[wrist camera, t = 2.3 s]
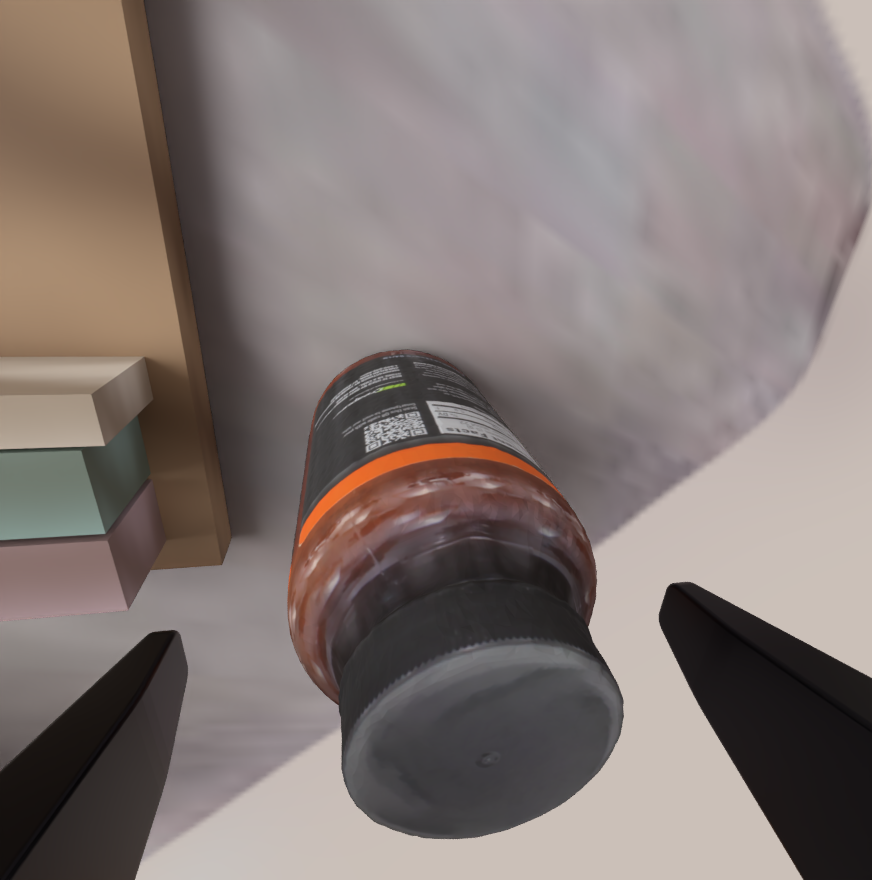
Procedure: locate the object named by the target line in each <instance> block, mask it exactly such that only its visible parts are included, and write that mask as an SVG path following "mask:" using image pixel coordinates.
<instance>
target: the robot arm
mask: <svg viewBox="0 0 872 880" xmlns="http://www.w3.org/2000/svg"><path fill="white" fill-rule="evenodd" d="M659 623H660V626H661V629H662V631H663V633H664V635H665V637H666V639H667V641H668V643H669V645H670V648H671V649H672V652H673V654H674V656H675V658H676V660H677V662H678V664H679V666H680V668H681V670H682V672H683V674H684V676H685V678H686V681H687V682H688V685H689V687H690V689H691V691H692V692H693V695H694V697H695V698H696V700H697V702H698V704H699V706H700V707H701V709H702V711H703V713H704V715H705V716H706V718H707V719H708V721H709V723H710V725H711V726H712V728H713V730H714V731H715V733H716V735H717V736H718V738H719V740H720V741H721V743H722V745H723V746H724V748H725V750H726V751H727V753H728V755H729V756H730V758H731V760H732V761H733V763H734V765H735V766H736V768H737V770H738V771H739V773H740V775H741V776H742V778H743V780H744V781H745V783H746V785H747V786H748V788H749V790H750V791H751V793H752V795H753V796H754V798H755V800H756V801H757V803H758V805H759V806H760V808H761V810H762V811H763V813H764V815H765V816H766V818H767V820H768V821H769V823H770V825H771V826H772V828H773V830H774V832H775V833H776V835H777V837H778V838H779V840H780V842H781V843H782V845H783V847H784V848H785V850H786V851H787V853H788V855H789V856H790V858H791V860H792V861H793V863H794V865H795V867H796V868H797V870H798V872H799V873H800V875H801V876H802V878H803V880H872V678H870V677H869V676H867V675H865V674H863V673H861V672H859V671H858V670H856V669H854V668H852V667H850V666H848V665H846V664H844V663H842V662H840V661H839V660H837V659H835V658H833V657H831V656H829V655H827V654H825V653H824V652H822V651H820V650H818V649H816V648H814V647H812V646H811V645H809V644H807V643H805V642H803V641H801V640H799V639H797V638H795V637H793V636H792V635H790V634H788V633H786V632H784V631H782V630H780V629H779V628H776V627H774V626H773V625H771V624H769V623H767V622H765V621H763V620H762V619H760V618H758V617H756V616H754V615H752V614H750V613H748V612H747V611H744V610H743V609H741V608H739V607H737V606H735V605H733V604H731V603H730V602H728V601H726V600H724V599H722V598H720V597H718V596H716V595H715V594H713V593H711V592H709V591H707V590H705V589H703V588H701V587H699V586H698V585H696V584H694V583H691V582H680V583H672V584H670V585H669V586H668V587H667V589H666V593H665V596H664V599H663V603H662V606H661V609H660V612H659ZM187 676H188V665H187V661H186V657H185V652H184V648H183V644H182V640H181V636H180V634H179V632H178V631H175V630H169V631H158V632H152V633H150V634H148V635H147V636H146V637H145V638H144V639H142V640H141V641H140V642H139V643H138V644H137V645H136V646H135V647H134V648H133V649H132V650H131V651H129V652H128V653H127V654H126V655H125V656H124V657H123V658H122V659H121V660H120V661H119V662H118V663H117V664H115V665H114V666H113V667H112V668H111V669H110V670H109V671H108V672H107V673H106V674H105V675H104V676H102V677H101V678H100V679H99V680H98V681H97V682H96V683H95V684H94V685H93V686H92V687H91V688H90V689H88V690H87V691H86V692H85V693H84V694H83V695H82V696H81V697H80V698H79V699H78V700H77V701H75V702H74V703H73V704H72V705H71V706H70V707H69V708H68V709H67V710H66V711H65V712H64V713H63V714H61V715H60V716H59V717H58V718H57V719H56V720H55V721H54V722H53V723H52V724H51V725H50V726H48V727H47V728H46V729H45V730H44V731H43V732H42V733H41V734H40V735H39V736H38V737H37V738H36V739H34V740H33V741H32V742H31V743H30V744H29V745H28V746H27V747H26V748H25V749H24V750H23V751H22V752H20V753H19V754H18V755H17V756H16V757H15V758H14V759H13V760H12V761H11V762H10V763H9V764H7V765H6V766H5V767H4V768H3V769H2V770H1V771H0V880H135V878H136V874H137V871H138V868H139V865H140V862H141V859H142V855H143V852H144V849H145V846H146V843H147V840H148V836H149V833H150V830H151V827H152V824H153V821H154V817H155V814H156V811H157V808H158V805H159V802H160V798H161V795H162V792H163V788H164V785H165V781H166V778H167V774H168V769H169V765H170V760H171V755H172V750H173V746H174V741H175V736H176V731H177V726H178V721H179V716H180V712H181V707H182V702H183V697H184V692H185V687H186V682H187Z"/></svg>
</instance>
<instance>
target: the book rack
mask: <svg viewBox="0 0 872 880" xmlns="http://www.w3.org/2000/svg"><path fill="white" fill-rule="evenodd" d="M231 538H232V537H231V531H230V525H229V518H228V512H227V506H226V500H225V494H224V488H223V482H222V476H221V470H220V463H219V457H218V451H217V445H216V439H215V433H214V427H213V421H212V415H211V408H210V402H209V396H208V390H207V384H206V378H205V372H204V366H203V360H202V354H201V347H200V341H199V335H198V329H197V323H196V317H195V311H194V305H193V299H192V292H191V286H190V280H189V274H188V268H187V262H186V256H185V250H184V244H183V238H182V231H181V225H180V219H179V213H178V207H177V201H176V195H175V189H174V183H173V176H172V170H171V164H170V158H169V152H168V146H167V140H166V134H165V128H164V121H163V115H162V109H161V103H160V97H159V91H158V85H157V79H156V73H155V67H154V60H153V54H152V48H151V42H150V36H149V30H148V24H147V18H146V12H145V5H144V0H0V621H10V620H21V619H33V618H45V617H57V616H69V615H80V614H92V613H104V612H116V611H128V610H129V608H130V606H131V604H132V603H133V601H134V599H135V597H136V595H137V593H138V592H139V590H140V588H141V586H142V584H143V582H144V581H145V579H146V577H147V575H148V573H149V571H150V570H158V569H172V568H186V567H199V566H213V565H222V564H223V561H224V558H225V555H226V552H227V549H228V547H229V544H230V541H231Z"/></svg>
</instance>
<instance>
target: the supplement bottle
mask: <svg viewBox="0 0 872 880" xmlns="http://www.w3.org/2000/svg"><path fill="white" fill-rule="evenodd" d="M596 575H597V571H596V565H595V559H594V556H593V552H592V549H591V545H590V541H589V539H588V537H587V535H586V532H585V530H584V528H583V526H582V525H581V523H580V521H579V520H578V518H577V516H576V513H575V512H574V511H573V510H572V508H571V507H570V505H569V504H568V502H567V501H566V500H565V499H564V497H563V496H562V495H561V494H560V492H559V491H558V490H557V489H556V488H555V487H554V485H553V483H552V482H551V480H550V479H549V478H548V477H547V475H546V474H545V473H544V472H543V471H542V470H541V468H540V467H539V466H538V464H537V463H536V462H535V461H534V459H533V458H532V457H531V456H530V455H529V453H528V452H527V451H526V449H525V448H524V447H523V445H522V444H521V443H520V442H519V441H518V439H517V438H516V437H515V436H514V434H513V433H512V432H511V431H510V429H509V428H508V427H507V426H506V425H505V423H504V422H503V421H502V419H501V418H500V417H499V415H498V414H497V413H496V412H495V410H494V409H493V408H492V407H491V406H490V404H489V403H488V402H487V400H486V399H485V398H484V397H483V396H482V394H481V393H480V392H479V390H478V389H477V388H476V386H475V385H474V384H473V383H472V382H471V381H470V380H469V379H468V378H467V377H466V376H465V375H464V374H463V373H462V372H460V371H459V370H458V369H457V368H456V367H454V366H453V365H451V364H450V363H449V362H447V361H445V360H443V359H441V358H439V357H436V356H433V355H431V354H427V353H423V352H420V351H413V350H399V351H387V352H380V353H377V354H374V355H371V356H368V357H365V358H363V359H361V360H359V361H358V362H356V363H354V364H352V365H350V366H349V367H347V368H346V369H345V370H344V371H342V372H341V373H340V374H339V375H337V376H336V377H335V378H334V379H333V381H332V382H331V383H330V384H329V386H328V387H327V388H326V390H325V391H324V393H323V395H322V397H321V398H320V400H319V402H318V405H317V407H316V409H315V412H314V416H313V420H312V425H311V432H310V435H309V441H308V448H307V454H306V461H305V470H304V477H303V483H302V491H301V496H300V505H299V512H298V518H297V527H296V532H295V539H294V547H293V552H292V562H291V569H290V575H289V585H288V621H289V628H290V635H291V639H292V642H293V645H294V648H295V651H296V653H297V655H298V657H299V660H300V662H301V664H302V665H303V667H304V669H305V671H306V672H307V674H308V675H309V676H310V678H311V680H312V681H313V682H314V683H315V684H316V685H317V686H318V688H319V689H320V690H321V691H322V692H323V693H324V694H325V695H326V696H327V697H329V698H330V699H331V700H332V701H334V702H335V703H336V704H337V705H339V713H340V716H341V732H342V773H343V777H344V782H345V785H346V787H347V789H348V792H349V795H350V797H351V798H352V799H353V801H354V802H355V804H356V806H357V807H358V808H360V809H361V810H362V811H363V812H364V813H365V814H367V816H368V817H369V818H371V819H372V820H373V821H374V822H376V823H378V824H380V825H383V826H386V827H388V828H390V829H392V830H395V831H399V832H402V833H405V834H408V835H412V836H418V837H422V838H432V839H462V838H475V837H480V836H484V835H488V834H492V833H497V832H501V831H504V830H508V829H510V828H513V827H515V826H518V825H520V824H523V823H525V822H527V821H530V820H532V819H534V818H537V817H539V816H541V815H543V814H545V813H547V812H549V811H550V810H552V809H554V808H556V807H558V806H559V805H561V804H562V803H564V802H565V801H567V800H568V799H569V798H570V797H572V796H573V795H575V794H576V793H577V792H578V791H579V790H580V789H582V788H583V787H584V786H585V785H586V784H587V783H588V782H589V781H590V780H591V779H592V778H593V777H594V776H595V775H596V774H597V773H598V772H599V771H600V770H601V768H602V767H603V765H604V764H605V762H606V761H607V760H608V758H609V756H610V755H611V753H612V751H613V749H614V747H615V744H616V743H617V741H618V739H619V736H620V733H621V728H622V721H623V717H624V715H623V697H622V695H621V692H620V689H619V686H618V684H617V682H616V680H615V679H614V676H613V675H612V673H611V671H610V669H609V667H608V666H607V664H606V662H605V660H604V659H603V657H602V656H601V654H600V653H599V651H598V649H597V648H596V647H595V645H594V643H593V641H592V637H591V635H590V632H589V629H588V626H589V623H590V619H591V616H592V611H593V607H594V604H595V600H596V584H597V578H596Z"/></svg>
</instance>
